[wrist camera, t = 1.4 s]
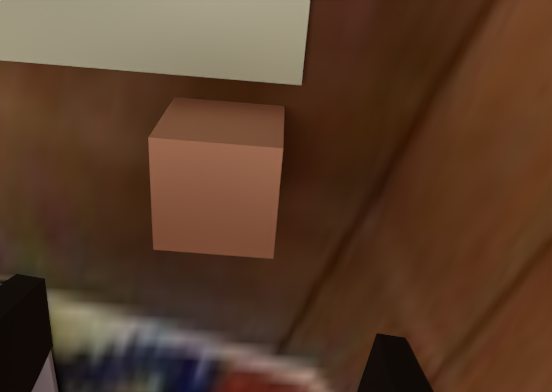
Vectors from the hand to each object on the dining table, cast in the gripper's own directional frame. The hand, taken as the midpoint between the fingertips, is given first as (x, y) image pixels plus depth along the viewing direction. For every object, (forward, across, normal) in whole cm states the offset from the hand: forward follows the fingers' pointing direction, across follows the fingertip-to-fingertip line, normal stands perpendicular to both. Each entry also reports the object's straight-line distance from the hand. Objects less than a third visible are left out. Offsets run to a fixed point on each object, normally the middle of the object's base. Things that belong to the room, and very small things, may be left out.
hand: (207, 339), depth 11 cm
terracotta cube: (+10, +1, 0) cm, 10 cm away
